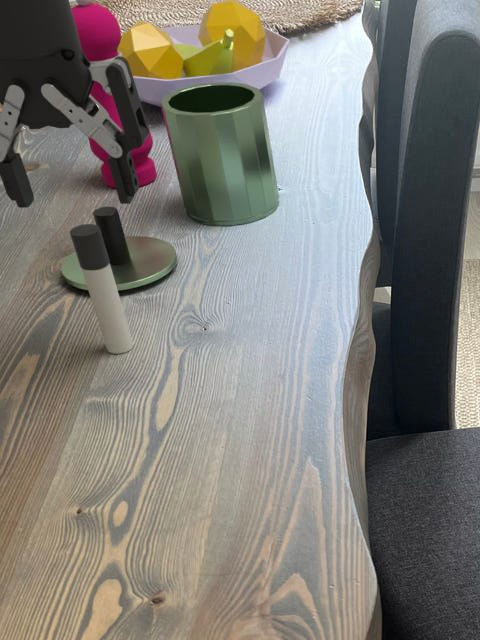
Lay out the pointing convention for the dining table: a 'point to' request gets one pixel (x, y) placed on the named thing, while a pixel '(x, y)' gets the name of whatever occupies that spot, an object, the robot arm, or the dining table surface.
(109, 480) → the dining table surface
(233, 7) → the fruit bowl
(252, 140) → the canister
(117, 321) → the marker
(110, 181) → the pepper mill
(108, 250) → the canister lid
